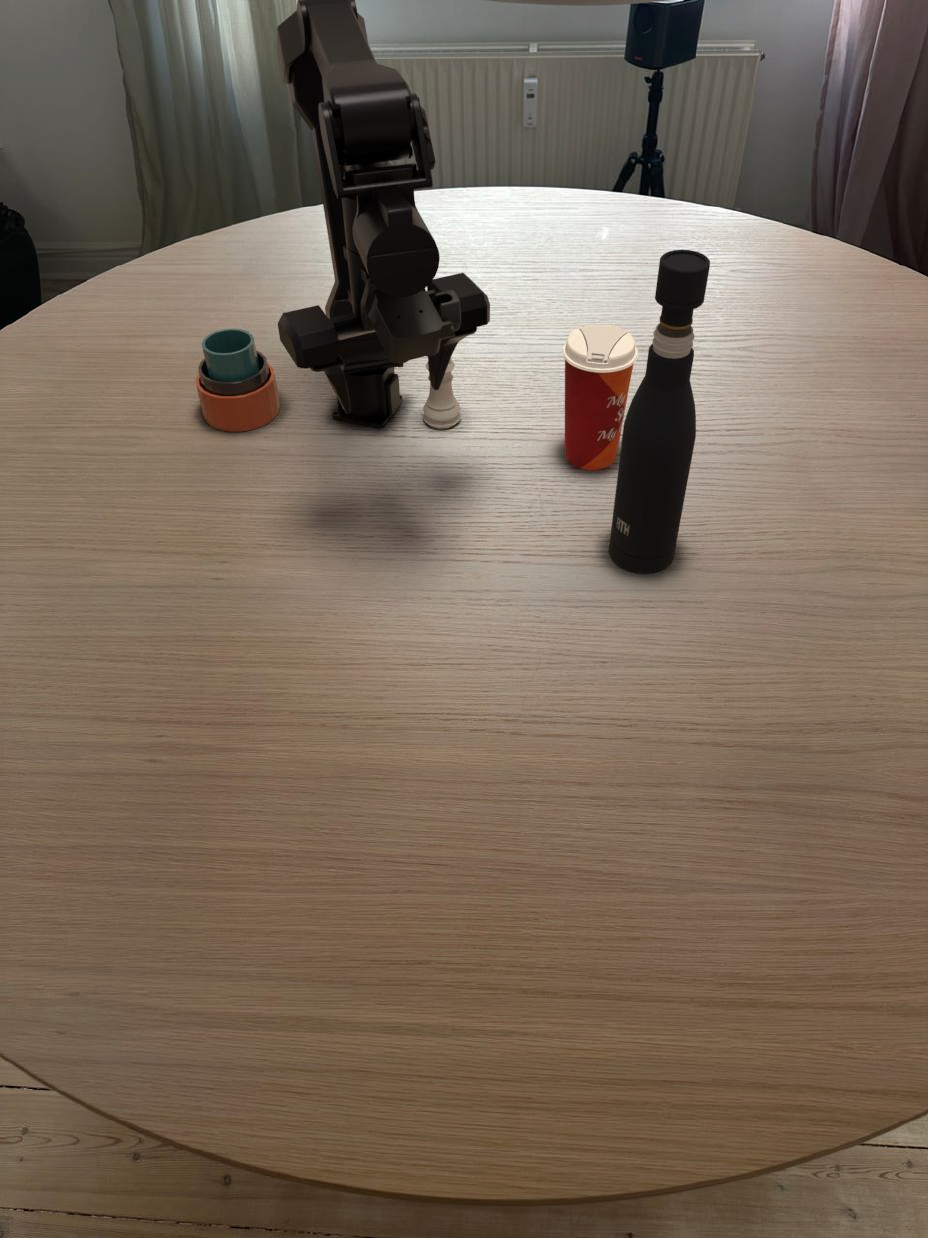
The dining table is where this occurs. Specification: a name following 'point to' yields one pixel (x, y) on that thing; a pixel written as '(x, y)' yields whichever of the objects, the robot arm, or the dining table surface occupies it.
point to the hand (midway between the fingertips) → (391, 399)
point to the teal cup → (230, 355)
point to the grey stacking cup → (236, 386)
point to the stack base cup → (241, 407)
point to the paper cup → (596, 393)
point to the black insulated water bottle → (660, 425)
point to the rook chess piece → (442, 403)
